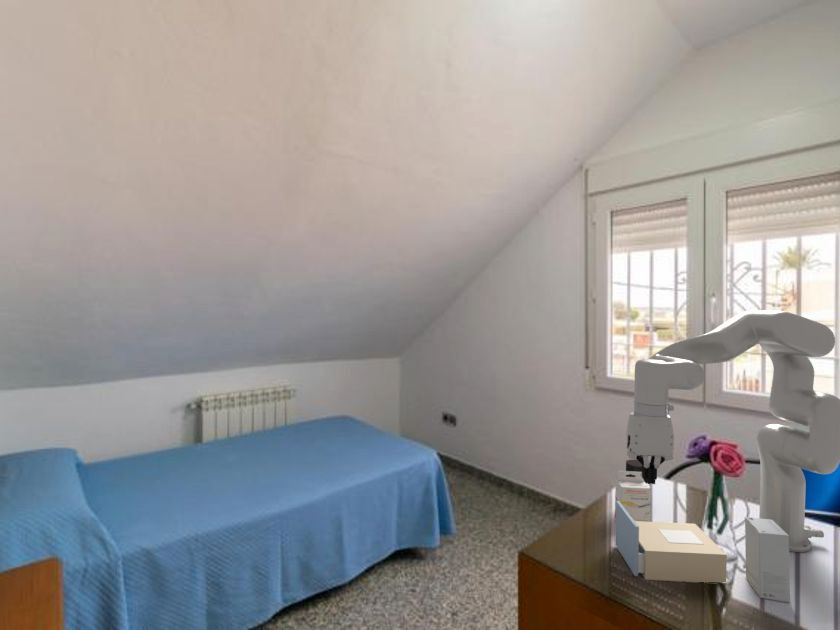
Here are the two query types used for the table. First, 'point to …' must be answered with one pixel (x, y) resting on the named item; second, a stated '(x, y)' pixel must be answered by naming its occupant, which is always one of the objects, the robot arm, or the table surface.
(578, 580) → the table surface
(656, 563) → the sleeve
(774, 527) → the skincare box
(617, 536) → the tray
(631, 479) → the ink cartridge box
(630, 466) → the deodorant
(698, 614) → the table surface
